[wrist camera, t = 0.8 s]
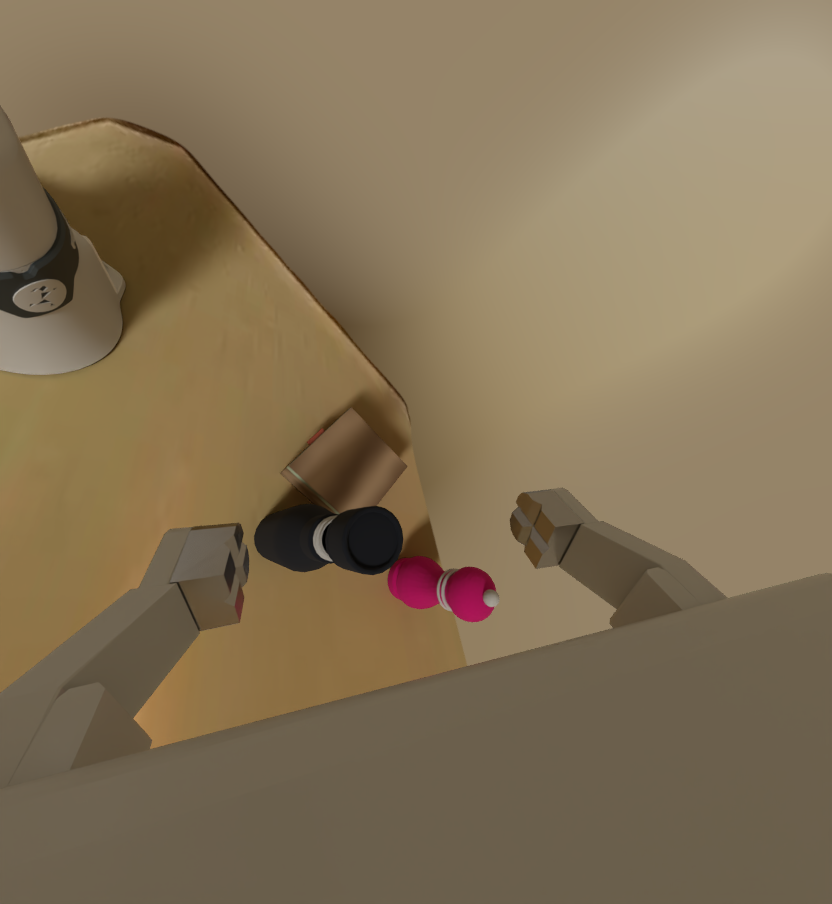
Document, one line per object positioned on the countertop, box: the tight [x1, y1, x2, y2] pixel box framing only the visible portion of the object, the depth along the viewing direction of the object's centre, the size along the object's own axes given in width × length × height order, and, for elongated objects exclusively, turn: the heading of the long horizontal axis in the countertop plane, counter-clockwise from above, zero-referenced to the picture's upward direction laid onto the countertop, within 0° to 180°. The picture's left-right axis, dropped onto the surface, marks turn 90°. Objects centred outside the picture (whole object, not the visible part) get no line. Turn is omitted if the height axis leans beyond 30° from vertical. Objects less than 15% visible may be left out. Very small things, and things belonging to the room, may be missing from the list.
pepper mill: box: [388, 556, 499, 622], centre depth 43 cm, size 7×7×20 cm
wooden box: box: [281, 407, 407, 514], centre depth 47 cm, size 13×13×6 cm
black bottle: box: [254, 504, 403, 575], centre depth 31 cm, size 6×6×30 cm
